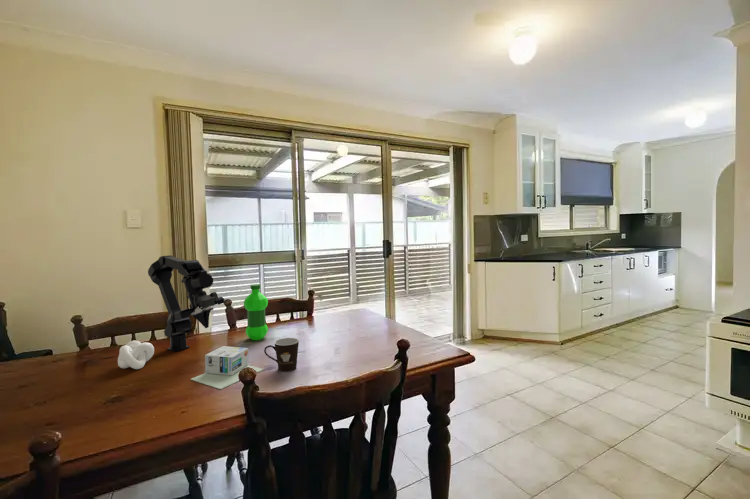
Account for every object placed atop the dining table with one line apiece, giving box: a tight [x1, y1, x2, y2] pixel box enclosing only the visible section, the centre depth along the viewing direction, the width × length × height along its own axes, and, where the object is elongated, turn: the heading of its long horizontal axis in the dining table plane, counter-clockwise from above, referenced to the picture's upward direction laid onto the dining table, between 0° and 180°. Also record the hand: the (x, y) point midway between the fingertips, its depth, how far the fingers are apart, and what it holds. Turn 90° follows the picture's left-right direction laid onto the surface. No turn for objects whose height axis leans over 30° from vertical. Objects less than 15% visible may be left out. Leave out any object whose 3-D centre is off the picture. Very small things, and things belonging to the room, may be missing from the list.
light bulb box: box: [204, 345, 249, 375], centre depth 133 cm, size 11×7×11 cm
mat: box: [190, 364, 265, 390], centre depth 129 cm, size 16×18×1 cm
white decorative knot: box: [117, 339, 155, 370], centre depth 137 cm, size 11×12×9 cm
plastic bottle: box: [243, 283, 269, 341], centre depth 169 cm, size 10×10×25 cm
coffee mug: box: [263, 337, 300, 373], centre depth 134 cm, size 12×9×10 cm
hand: (207, 327), depth 148 cm, fingers closed
